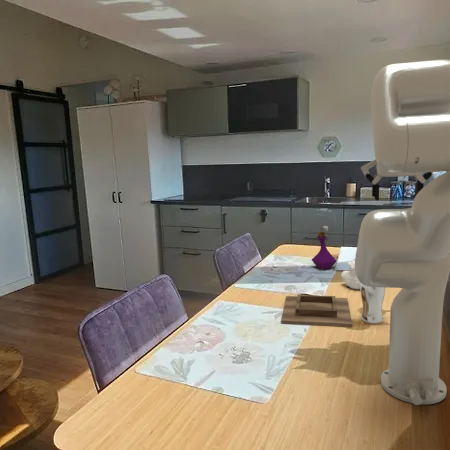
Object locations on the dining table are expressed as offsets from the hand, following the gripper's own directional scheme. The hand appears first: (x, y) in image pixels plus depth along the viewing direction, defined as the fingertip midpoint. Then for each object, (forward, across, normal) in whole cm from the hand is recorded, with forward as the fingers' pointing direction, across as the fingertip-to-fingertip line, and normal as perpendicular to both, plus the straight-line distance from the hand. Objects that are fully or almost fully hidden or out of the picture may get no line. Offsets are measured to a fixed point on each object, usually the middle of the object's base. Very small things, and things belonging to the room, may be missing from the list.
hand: (396, 199), depth 102 cm
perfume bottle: (+37, -17, +61) cm, 73 cm away
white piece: (+37, -4, +10) cm, 39 cm away
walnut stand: (+37, -20, +14) cm, 44 cm away
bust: (+37, -6, +37) cm, 53 cm away
